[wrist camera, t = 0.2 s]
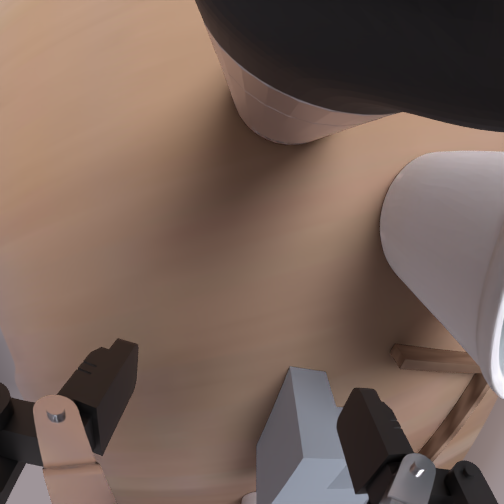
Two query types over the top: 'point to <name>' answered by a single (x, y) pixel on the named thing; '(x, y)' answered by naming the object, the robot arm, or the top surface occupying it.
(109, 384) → the robot arm
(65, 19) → the top surface
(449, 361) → the walnut bay
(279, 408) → the slate T block
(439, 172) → the utensil holder
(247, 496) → the coffee cup
